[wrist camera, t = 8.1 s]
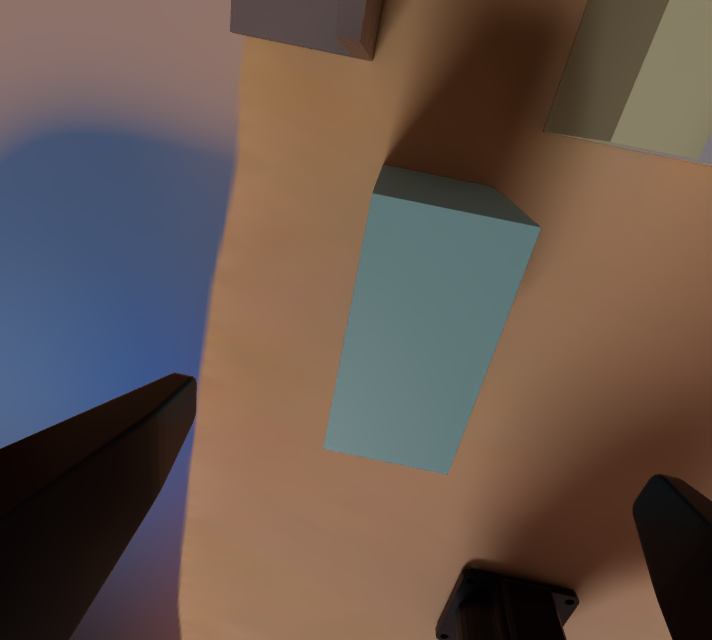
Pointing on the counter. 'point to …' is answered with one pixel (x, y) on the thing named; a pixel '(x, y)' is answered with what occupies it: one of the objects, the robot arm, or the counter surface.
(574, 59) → the row of shelved books
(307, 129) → the counter surface
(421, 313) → the grey teal rectangular block
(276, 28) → the grey metal bookend
